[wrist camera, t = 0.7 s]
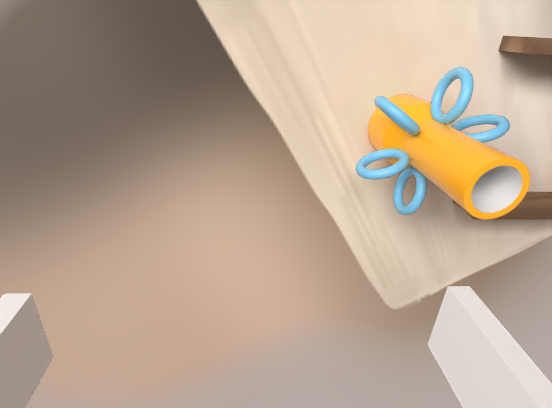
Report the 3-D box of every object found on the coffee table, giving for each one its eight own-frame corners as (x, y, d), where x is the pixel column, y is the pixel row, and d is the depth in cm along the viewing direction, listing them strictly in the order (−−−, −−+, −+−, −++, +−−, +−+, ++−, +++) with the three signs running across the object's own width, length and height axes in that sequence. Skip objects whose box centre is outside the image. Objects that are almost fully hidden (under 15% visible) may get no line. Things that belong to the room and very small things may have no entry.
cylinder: (452, 46, 32) (607, 63, 18) (464, 150, 37) (593, 224, 23) (322, 95, 33) (380, 146, 19) (350, 191, 37) (411, 285, 24)
